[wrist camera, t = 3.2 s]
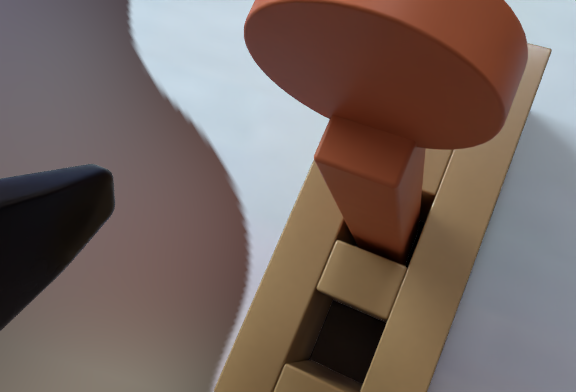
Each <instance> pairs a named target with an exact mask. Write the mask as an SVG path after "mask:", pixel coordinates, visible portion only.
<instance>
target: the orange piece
mask: <svg viewBox="0 0 576 392" xmlns="http://www.w3.org/2000/svg"><path fill="white" fill-rule="evenodd" d="M244 39H245V43H246V46H247V48H248V50H249V53H250V54H251V56H252V58H253V59H254V61H255V62H256V63H257V65H258V66H259V67H260V68H261V70H262V71H263V72H264V73H265V74H266V75H267V76H268V77H269V78H270V79H271V80H272V81H273V82H275V83H276V84H277V85H278V86H279V87H280V88H282V89H283V90H284V91H285V92H287V93H288V94H289V95H291V96H292V97H294V98H295V99H296V100H298V101H299V102H301V103H302V104H304V105H306V106H307V107H309V108H311V109H312V110H314V111H316V112H318V113H319V114H321V115H323V116H325V117H327V118H329V119H330V120H329V123H328V125H327V127H326V129H325V132H324V134H323V136H322V139H321V141H320V143H319V146H318V148H317V150H316V153H315V155H314V161H315V163H316V165H317V167H318V169H319V171H320V173H321V175H322V177H323V178H324V180H325V182H326V184H327V186H328V188H329V190H330V192H331V194H332V196H333V198H334V200H335V202H336V204H337V206H338V208H339V210H340V212H341V214H342V216H343V218H344V220H345V222H346V224H347V226H348V228H349V230H350V232H351V234H352V235H353V237H354V239H355V241H356V243H357V245H358V247H359V248H361V249H363V250H366V251H368V252H371V253H373V254H376V255H378V256H381V257H384V258H386V259H389V260H391V261H394V262H396V263H399V264H401V265H404V266H405V265H406V262H407V260H408V257H409V254H410V252H411V249H412V247H413V244H414V242H415V239H416V236H417V234H418V229H419V218H420V207H421V195H422V184H423V173H424V162H425V150H426V148H427V149H439V150H454V149H465V148H470V147H475V146H478V145H481V144H484V143H486V142H488V141H490V140H491V139H493V138H494V137H495V136H496V135H497V134H498V133H499V132H500V131H501V129H502V128H503V126H504V124H505V121H506V119H507V116H508V113H509V111H510V108H511V105H512V103H513V100H514V97H515V95H516V92H517V89H518V87H519V84H520V81H521V78H522V76H523V73H524V70H525V67H526V64H527V60H528V45H527V40H526V36H525V33H524V30H523V28H522V26H521V23H520V21H519V20H518V18H517V17H516V15H515V14H514V12H513V11H512V9H511V8H510V6H509V5H508V4H507V3H506V2H505V1H504V0H255V2H254V4H253V6H252V8H251V10H250V12H249V14H248V16H247V18H246V21H245V25H244Z"/></svg>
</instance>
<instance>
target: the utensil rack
mask: <svg viewBox="0 0 576 392" xmlns="http://www.w3.org/2000/svg"><path fill="white" fill-rule="evenodd" d="M527 45H528V60H527V64H526V67H525V70H524V73H523V76H522V78H521V81H520V84H519V87H518V89H517V92H516V95H515V97H514V100H513V103H512V105H511V108H510V111H509V113H508V116H507V119H506V121H505V124H504V126H503V128H502V129H501V131H500V132H499V133H498V134H497V135H496V136H495V137H494V138H493V139H491V140H490V141H488V142H486V143H484V144H481V145H478V146H475V147H470V148H465V149H454V150H439V149H427V148H426V150H425V162H424V173H423V184H422V195H421V207H420V218H419V221H421V222H424V223H425V225H424V227H423V230H422V233H421V235H420V238H419V240H418V243H417V246H416V248H415V251H414V253H413V256H412V258H411V261H410V264H409V266H408V269H407V267H406V266H404V265H401V264H399V263H396V262H394V261H391V260H389V259H386V258H384V257H381V256H378V255H376V254H373V253H371V252H368V251H366V250H363V249H361V248H358V247H355V245H356V241H355V239H354V237H353V235H352V234H351V232H350V230H349V228H348V226H347V224H346V222H345V220H344V218H343V216H342V214H341V212H340V210H339V208H338V206H337V204H336V202H335V200H334V198H333V196H332V194H331V192H330V190H329V188H328V186H327V184H326V182H325V180H324V178H323V177H322V175H321V173H320V171H319V169H318V167H317V165H316V163H315V161H313V163H312V165H311V167H310V170H309V172H308V174H307V177H306V179H305V181H304V184H303V186H302V188H301V190H300V193H299V195H298V197H297V200H296V202H295V204H294V207H293V209H292V211H291V214H290V216H289V218H288V220H287V223H286V225H285V227H284V230H283V232H282V234H281V237H280V239H279V241H278V244H277V246H276V248H275V250H274V253H273V255H272V257H271V260H270V262H269V264H268V267H267V269H266V271H265V274H264V276H263V278H262V280H261V283H260V285H259V287H258V290H257V292H256V294H255V297H254V299H253V301H252V303H251V306H250V308H249V310H248V313H247V315H246V317H245V320H244V322H243V324H242V327H241V329H240V331H239V333H238V336H237V338H236V340H235V343H234V345H233V347H232V350H231V352H230V354H229V357H228V359H227V361H226V363H225V366H224V368H223V370H222V373H221V375H220V377H219V380H218V382H217V384H216V387H215V389H214V392H427V391H428V388H429V385H430V383H431V380H432V377H433V374H434V372H435V369H436V366H437V363H438V361H439V358H440V355H441V352H442V350H443V347H444V344H445V341H446V339H447V336H448V333H449V331H450V328H451V325H452V322H453V320H454V317H455V314H456V311H457V309H458V306H459V303H460V300H461V298H462V295H463V292H464V289H465V287H466V284H467V281H468V279H469V276H470V273H471V270H472V268H473V265H474V262H475V259H476V257H477V254H478V251H479V248H480V246H481V243H482V240H483V237H484V235H485V232H486V229H487V226H488V224H489V221H490V218H491V216H492V213H493V210H494V207H495V205H496V202H497V199H498V196H499V194H500V191H501V188H502V185H503V183H504V180H505V177H506V174H507V172H508V169H509V166H510V163H511V161H512V158H513V155H514V153H515V150H516V147H517V144H518V142H519V139H520V136H521V133H522V131H523V128H524V125H525V122H526V120H527V117H528V114H529V111H530V109H531V106H532V103H533V101H534V98H535V95H536V92H537V90H538V87H539V84H540V81H541V79H542V76H543V73H544V70H545V68H546V65H547V62H548V59H549V57H550V54H551V49H549V48H545V47H541V46H537V45H533V44H528V43H527ZM333 300H335V301H336V302H339V303H341V304H343V305H346V306H348V307H350V308H353V309H355V310H357V311H360V312H362V313H364V314H367V315H369V316H371V317H374V318H376V319H378V320H381V321H383V322H385V323H386V326H385V328H384V331H383V333H382V336H381V339H380V341H379V344H378V346H377V349H376V352H375V354H374V357H373V359H372V362H371V364H370V367H369V370H368V372H367V375H366V377H365V380H364V383H363V384H361V383H359V382H357V381H355V380H353V379H351V378H349V377H347V376H345V375H342V374H340V373H338V372H336V371H334V370H332V369H330V368H328V367H326V366H323V365H321V364H319V363H317V362H315V361H313V360H309V358H310V356H311V353H312V351H313V348H314V346H315V343H316V341H317V339H318V336H319V334H320V331H321V329H322V326H323V324H324V321H325V319H326V316H327V314H328V312H329V309H330V307H331V304H332V302H333Z"/></svg>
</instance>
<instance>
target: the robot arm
mask: <svg viewBox="0 0 576 392" xmlns="http://www.w3.org/2000/svg"><path fill="white" fill-rule="evenodd" d="M114 207H115V199H114V183H113V176H112V173H111V172H110V171H109V170H108V169H105V168H102V167H100V166H97V165H94V164H88V165H81V166H75V167H70V168H63V169H57V170H51V171H44V172H38V173H32V174H26V175H20V176H14V177H8V178H1V179H0V331H1V330H2V329H3V328H4V327H5V326H6V325H7V324H8V323H9V322H10V321H11V320H12V319H14V317H16V315H18V314H19V313H20V312H21V311H22V310H23V309H24V308H25V307H26V306H27V305H28V304H29V303H30V302H31V301H32V300H34V299H35V298H36V297H37V296H38V295H39V294H40V293H41V292H42V291H43V290H44V289H45V288H46V287H47V286H48V285H49V284H50V283H51V282H52V281H53V280H55V279H56V278H57V277H58V276H59V275H60V274H61V272H63V270H65V268H66V267H67V266H68V265H69V264H70V263H71V262H72V261H73V260H74V258H75V257H76V256H77V255H78V254H79V253H80V251H81V250H82V249H83V248H84V247H85V246H86V244H87V243H88V242H89V241H90V240H91V239H92V237H93V236H94V235H95V234H96V233H97V232H98V230H99V229H100V228H101V227H102V226H103V225H104V223H105V222H106V221H107V220H108V219H109V217H110V216H111V215H112V213H113V211H114Z"/></svg>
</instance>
